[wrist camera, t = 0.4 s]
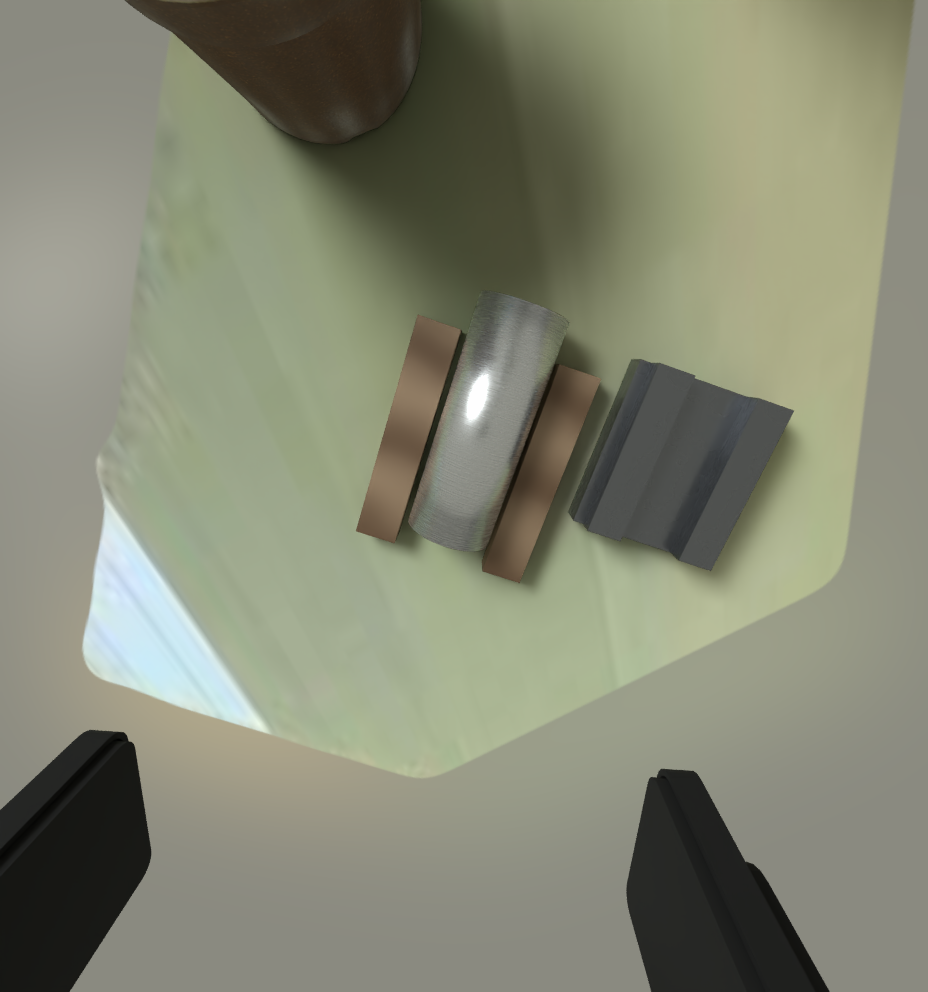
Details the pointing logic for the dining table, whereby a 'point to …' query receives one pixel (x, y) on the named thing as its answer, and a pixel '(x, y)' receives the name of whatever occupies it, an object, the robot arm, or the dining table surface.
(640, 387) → the v block
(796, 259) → the dining table surface
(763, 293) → the dining table surface
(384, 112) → the plant pot
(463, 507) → the axle
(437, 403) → the wooden blocks
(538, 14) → the dining table surface
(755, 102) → the dining table surface
